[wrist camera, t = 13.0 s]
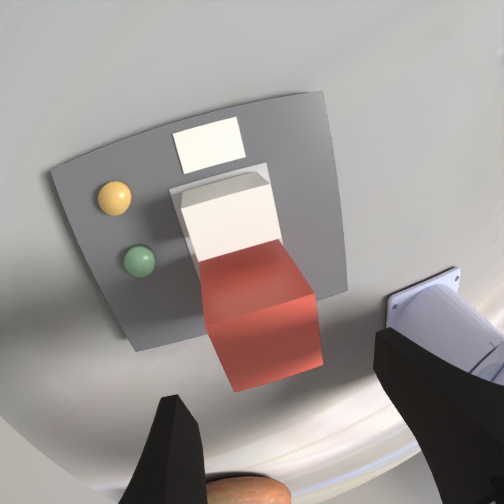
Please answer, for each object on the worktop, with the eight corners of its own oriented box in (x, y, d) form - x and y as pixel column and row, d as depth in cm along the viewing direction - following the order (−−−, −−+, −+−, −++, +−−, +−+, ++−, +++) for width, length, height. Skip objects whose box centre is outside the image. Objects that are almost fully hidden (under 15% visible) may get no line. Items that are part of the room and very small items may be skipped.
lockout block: (285, 292, 18) (323, 364, 13) (219, 312, 18) (234, 392, 12) (272, 230, 16) (314, 292, 11) (198, 252, 16) (205, 326, 10)
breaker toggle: (266, 217, 15) (281, 237, 13) (196, 236, 15) (198, 261, 13) (256, 171, 14) (270, 183, 12) (182, 191, 14) (180, 208, 12)
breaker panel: (338, 278, 20) (351, 295, 18) (137, 336, 19) (134, 358, 17) (311, 92, 15) (327, 90, 13) (61, 165, 14) (45, 172, 12)
